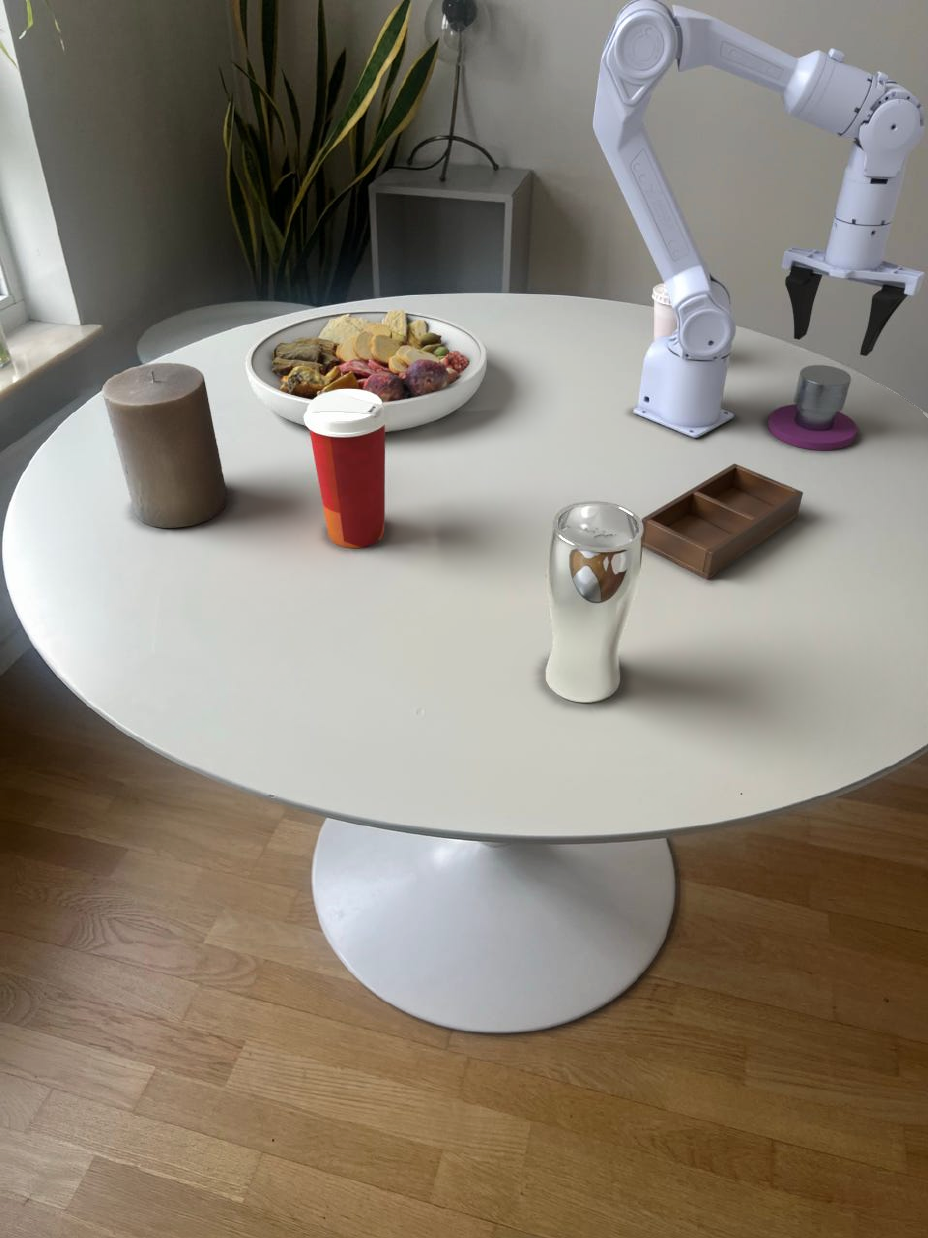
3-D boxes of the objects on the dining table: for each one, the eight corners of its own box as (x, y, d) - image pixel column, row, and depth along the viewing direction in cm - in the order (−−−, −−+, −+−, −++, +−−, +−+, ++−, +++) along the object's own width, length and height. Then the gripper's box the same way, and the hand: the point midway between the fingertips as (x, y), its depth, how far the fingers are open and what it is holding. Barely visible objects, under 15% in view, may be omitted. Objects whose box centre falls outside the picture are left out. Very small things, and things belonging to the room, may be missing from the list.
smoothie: (691, 372, 124) (708, 265, 115) (642, 368, 125) (655, 262, 116) (691, 353, 129) (708, 249, 120) (645, 350, 130) (657, 246, 121)
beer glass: (534, 652, 79) (543, 501, 70) (615, 648, 80) (634, 497, 70) (546, 710, 74) (558, 553, 64) (633, 704, 74) (657, 548, 65)
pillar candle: (245, 504, 98) (222, 369, 89) (163, 541, 93) (129, 401, 83) (196, 471, 103) (169, 341, 94) (115, 504, 98) (78, 369, 89)
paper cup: (406, 520, 96) (400, 392, 87) (376, 560, 90) (367, 428, 81) (336, 506, 98) (324, 381, 89) (303, 545, 92) (286, 415, 83)
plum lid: (751, 429, 111) (752, 421, 110) (795, 403, 116) (797, 396, 116) (827, 459, 105) (829, 451, 105) (870, 430, 111) (873, 423, 110)
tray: (638, 544, 92) (641, 518, 90) (729, 487, 101) (734, 462, 99) (707, 579, 87) (712, 553, 86) (797, 517, 96) (803, 491, 94)
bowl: (206, 386, 121) (195, 327, 116) (387, 327, 136) (385, 272, 131) (345, 472, 103) (339, 406, 98) (534, 393, 119) (537, 333, 114)
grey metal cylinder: (780, 423, 110) (791, 375, 106) (802, 407, 113) (814, 360, 110) (824, 438, 107) (837, 389, 103) (846, 421, 110) (859, 374, 107)
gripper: (781, 215, 98) (757, 340, 106) (922, 240, 91) (884, 372, 99) (807, 200, 102) (782, 321, 111) (944, 223, 95) (906, 351, 104)
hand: (832, 344), depth 105 cm, fingers open, 7 cm apart
